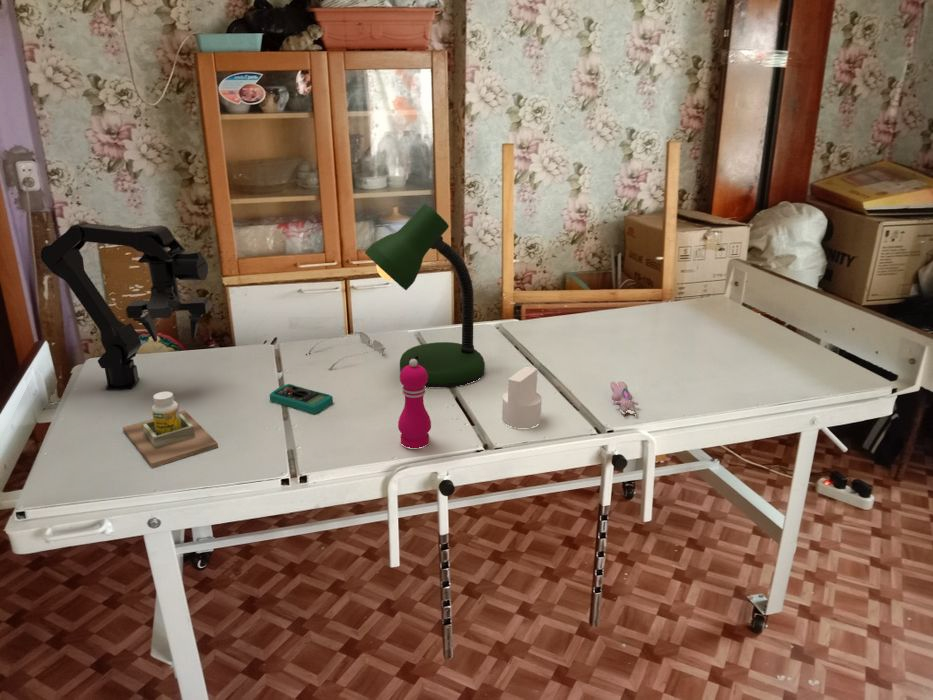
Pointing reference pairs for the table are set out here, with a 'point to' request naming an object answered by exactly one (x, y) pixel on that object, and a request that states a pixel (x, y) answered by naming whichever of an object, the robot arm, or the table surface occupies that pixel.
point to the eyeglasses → (364, 339)
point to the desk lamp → (402, 264)
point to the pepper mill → (414, 407)
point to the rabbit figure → (622, 396)
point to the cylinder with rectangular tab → (522, 400)
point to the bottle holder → (169, 440)
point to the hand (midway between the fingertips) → (174, 340)
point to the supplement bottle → (165, 413)
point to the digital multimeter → (301, 398)
